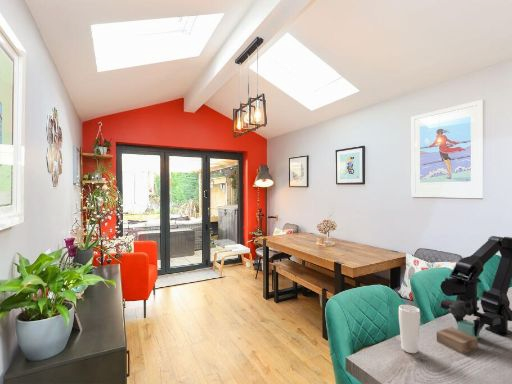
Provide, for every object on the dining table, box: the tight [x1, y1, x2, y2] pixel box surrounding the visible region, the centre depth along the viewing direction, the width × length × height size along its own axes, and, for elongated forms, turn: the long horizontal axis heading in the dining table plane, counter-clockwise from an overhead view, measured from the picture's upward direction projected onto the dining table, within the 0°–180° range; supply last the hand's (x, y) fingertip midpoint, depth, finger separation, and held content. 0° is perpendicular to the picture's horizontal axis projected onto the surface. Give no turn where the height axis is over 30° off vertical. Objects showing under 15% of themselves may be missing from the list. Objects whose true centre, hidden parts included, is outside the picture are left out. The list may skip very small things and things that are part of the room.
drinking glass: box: [398, 304, 421, 354], centre depth 99 cm, size 7×7×15 cm
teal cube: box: [457, 319, 480, 338], centre depth 109 cm, size 5×5×5 cm
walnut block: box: [436, 327, 479, 355], centre depth 102 cm, size 9×9×4 cm
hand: (468, 333), depth 109 cm, fingers closed on teal cube, 5 cm apart
